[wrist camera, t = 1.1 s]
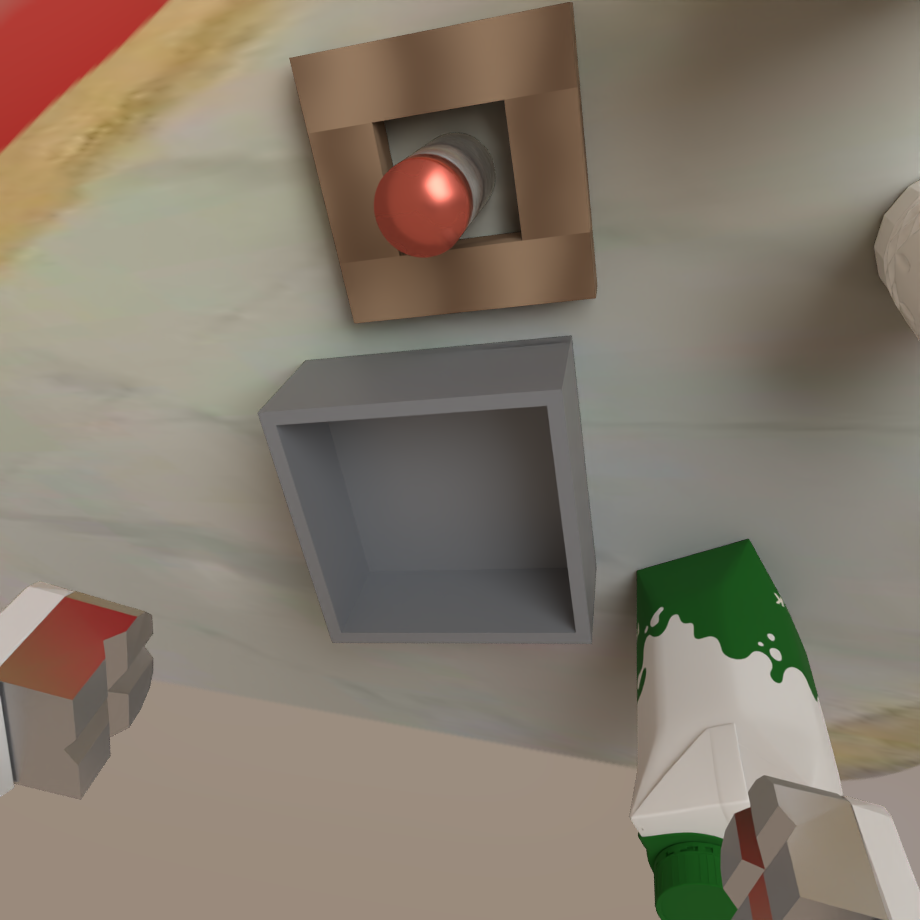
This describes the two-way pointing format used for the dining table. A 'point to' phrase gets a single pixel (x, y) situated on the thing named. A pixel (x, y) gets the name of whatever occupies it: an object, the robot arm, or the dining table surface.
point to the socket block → (441, 88)
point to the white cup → (902, 255)
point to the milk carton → (716, 716)
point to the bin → (441, 493)
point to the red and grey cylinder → (434, 194)
